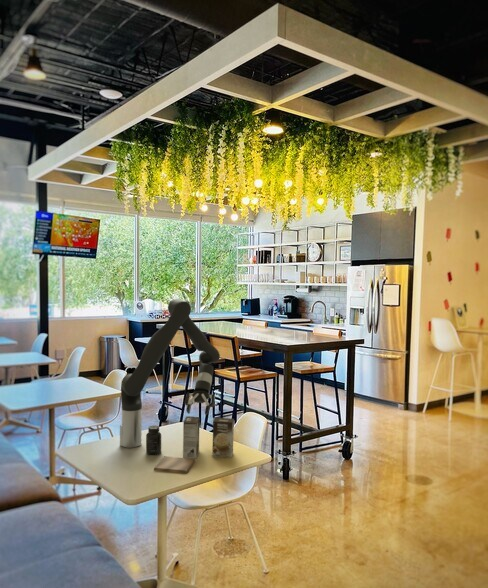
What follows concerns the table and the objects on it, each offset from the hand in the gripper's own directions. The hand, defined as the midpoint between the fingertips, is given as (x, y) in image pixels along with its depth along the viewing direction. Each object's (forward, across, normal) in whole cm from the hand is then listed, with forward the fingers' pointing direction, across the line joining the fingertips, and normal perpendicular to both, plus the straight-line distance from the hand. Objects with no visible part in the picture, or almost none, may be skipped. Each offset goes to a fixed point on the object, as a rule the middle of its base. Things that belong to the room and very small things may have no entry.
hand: (197, 413), depth 225 cm
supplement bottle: (+20, -17, +4) cm, 26 cm away
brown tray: (+28, -3, -5) cm, 29 cm away
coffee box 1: (+18, 0, +5) cm, 19 cm away
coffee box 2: (+16, +14, +7) cm, 22 cm away
